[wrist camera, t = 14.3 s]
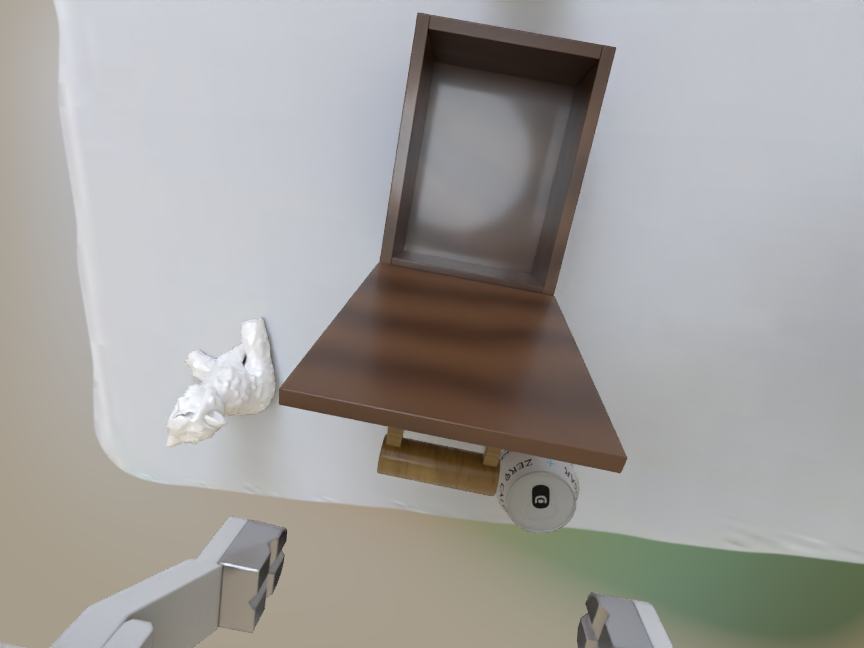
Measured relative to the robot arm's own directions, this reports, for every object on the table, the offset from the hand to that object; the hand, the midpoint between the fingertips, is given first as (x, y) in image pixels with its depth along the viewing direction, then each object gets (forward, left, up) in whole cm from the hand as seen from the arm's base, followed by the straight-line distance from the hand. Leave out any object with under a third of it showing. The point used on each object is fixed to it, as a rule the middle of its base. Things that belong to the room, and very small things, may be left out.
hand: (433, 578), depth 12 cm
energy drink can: (-8, +9, -33) cm, 35 cm away
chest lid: (0, -3, -15) cm, 16 cm away
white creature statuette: (+20, +10, -33) cm, 40 cm away
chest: (0, -13, -33) cm, 36 cm away
